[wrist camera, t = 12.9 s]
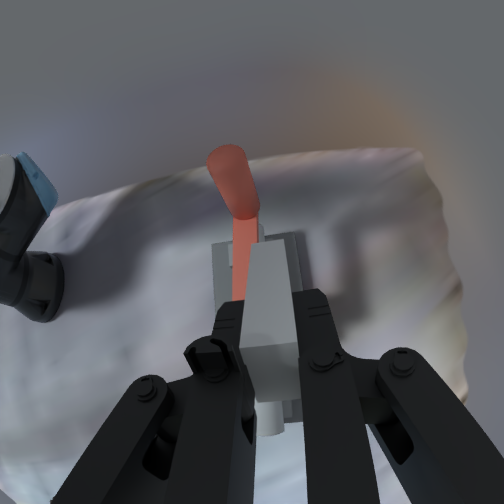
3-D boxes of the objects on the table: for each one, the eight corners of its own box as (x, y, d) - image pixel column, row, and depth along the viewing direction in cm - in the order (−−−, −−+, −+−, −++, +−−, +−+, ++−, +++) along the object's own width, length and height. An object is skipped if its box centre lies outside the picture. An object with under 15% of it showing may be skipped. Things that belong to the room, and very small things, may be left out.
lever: (264, 342, 25) (246, 341, 16) (231, 342, 25) (196, 340, 16) (261, 198, 30) (245, 142, 21) (233, 201, 30) (207, 147, 21)
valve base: (228, 422, 32) (203, 448, 22) (214, 247, 41) (188, 216, 31) (315, 416, 31) (321, 443, 21) (294, 235, 39) (291, 199, 30)
